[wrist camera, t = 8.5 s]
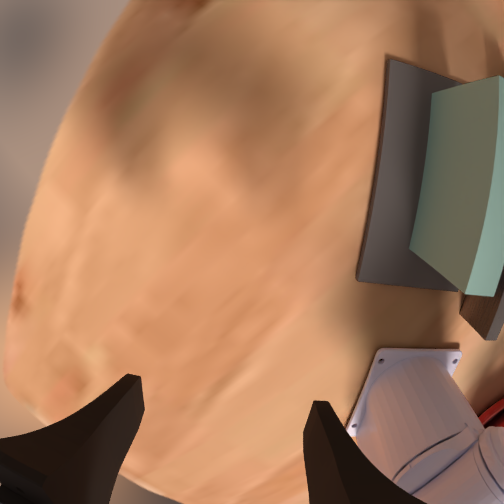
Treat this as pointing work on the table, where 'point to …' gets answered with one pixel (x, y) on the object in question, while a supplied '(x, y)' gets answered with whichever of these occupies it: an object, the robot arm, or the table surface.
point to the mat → (401, 181)
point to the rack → (486, 312)
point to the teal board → (464, 187)
